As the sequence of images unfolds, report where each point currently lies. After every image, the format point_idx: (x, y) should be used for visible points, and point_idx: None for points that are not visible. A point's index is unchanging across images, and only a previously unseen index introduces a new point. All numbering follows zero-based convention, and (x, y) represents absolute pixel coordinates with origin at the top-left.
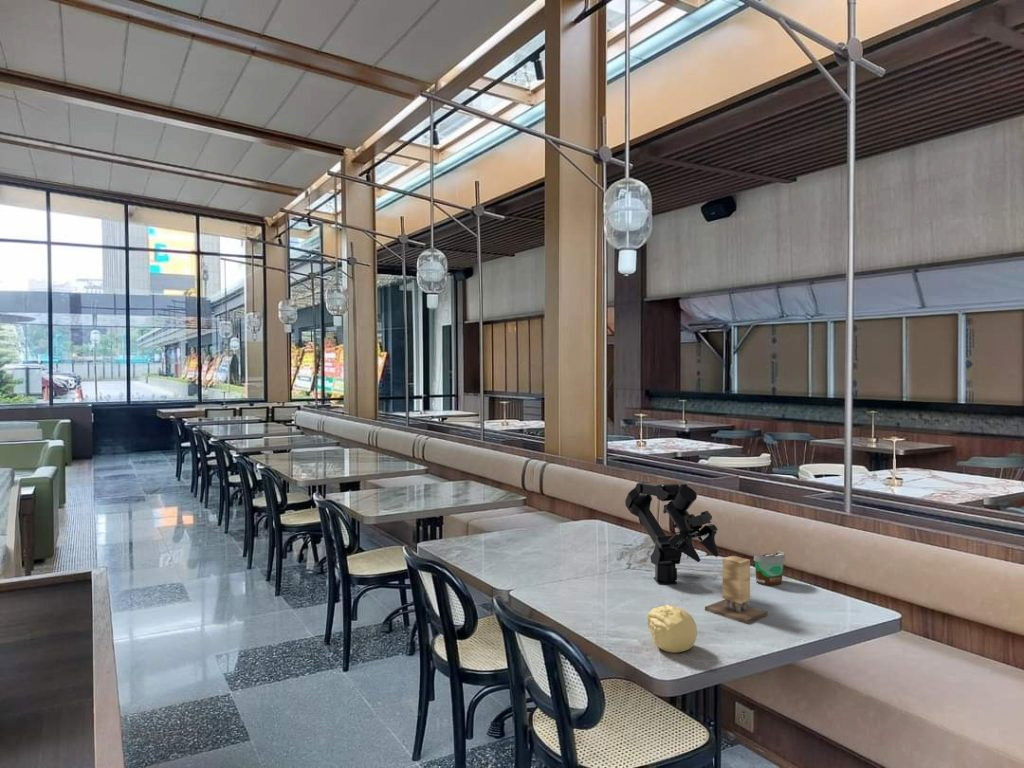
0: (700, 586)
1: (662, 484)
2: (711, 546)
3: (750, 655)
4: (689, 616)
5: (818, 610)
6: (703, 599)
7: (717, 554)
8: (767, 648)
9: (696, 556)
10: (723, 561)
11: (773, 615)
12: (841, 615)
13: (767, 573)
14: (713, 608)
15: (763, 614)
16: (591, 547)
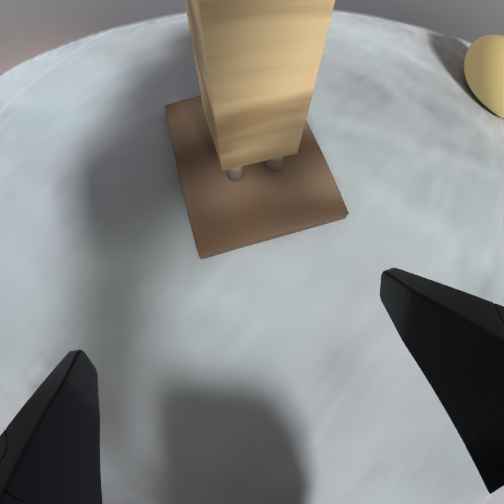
0: (171, 466)
1: None
2: (58, 460)
3: (373, 19)
4: (494, 35)
5: (33, 118)
6: (271, 328)
7: (78, 355)
8: None
9: (434, 288)
10: (329, 5)
11: (154, 108)
12: (33, 89)
13: None
14: (326, 186)
15: (189, 101)
16: None
